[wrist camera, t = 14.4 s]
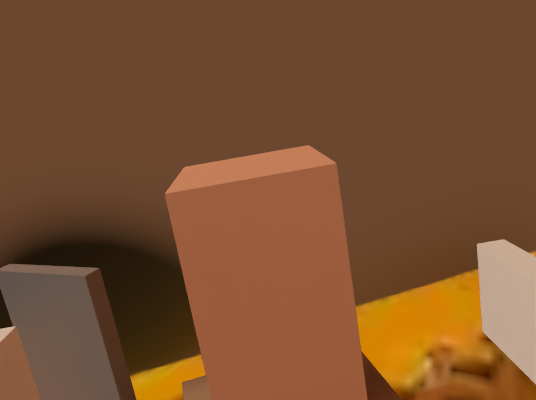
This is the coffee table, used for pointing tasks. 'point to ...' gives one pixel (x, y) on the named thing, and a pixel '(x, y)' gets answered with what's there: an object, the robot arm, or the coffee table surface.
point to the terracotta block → (269, 276)
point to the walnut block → (377, 388)
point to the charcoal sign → (67, 332)
